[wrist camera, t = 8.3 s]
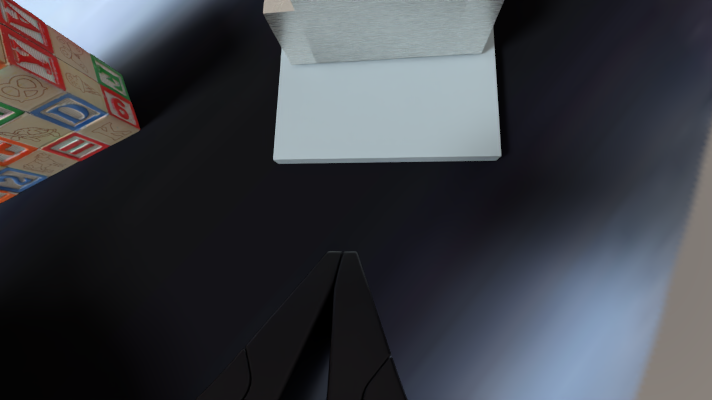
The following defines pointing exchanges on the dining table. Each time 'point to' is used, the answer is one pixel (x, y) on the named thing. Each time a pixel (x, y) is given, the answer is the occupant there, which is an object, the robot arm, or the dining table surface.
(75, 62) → the stack of blocks
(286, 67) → the pale blue base plate
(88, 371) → the dining table surface
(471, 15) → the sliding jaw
